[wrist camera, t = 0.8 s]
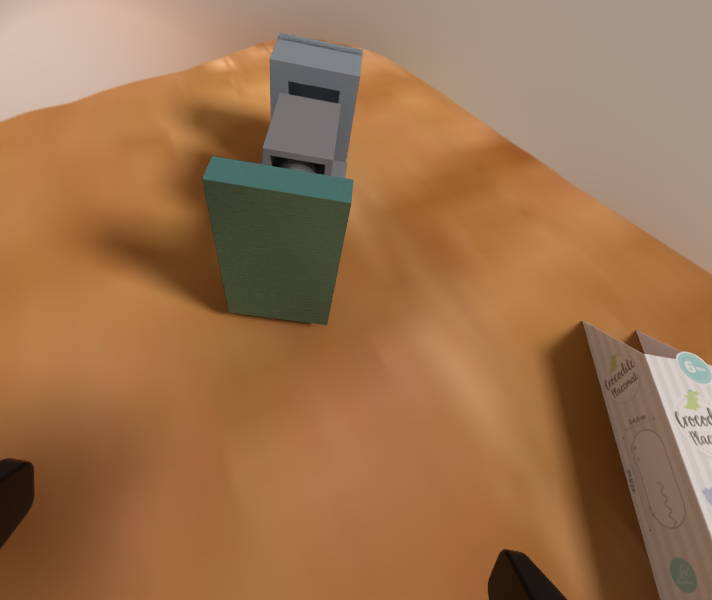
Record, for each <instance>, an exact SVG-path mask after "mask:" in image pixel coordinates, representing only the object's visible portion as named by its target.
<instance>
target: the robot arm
mask: <svg viewBox="0 0 712 600" xmlns="http://www.w3.org/2000/svg"><path fill="white" fill-rule="evenodd" d="M33 501H34V466H33V464H32V463H31V462H29V461H24V460H18V459H13V458H7V459H3V460H0V549H1V548H2V546H3V545H4V544H5V542H6V541H7V540H8V538H9V537H10V536H11V534H12V533H13V532H14V530H15V529H16V528H17V526H18V525H19V524H20V522H21V521H22V520H23V518H24V517H25V516H26V514H27V513H28V511H29V510H30V508H31V506H32V504H33ZM488 596H489V600H567V599H566V598H565V597H564V595H563V594H562V593H561V592H560V591H559V590H558V589H557V588H556V587H555V586H554V585H553V583H552V582H551V581H550V580H549V579H548V578H547V577H546V576H545V575H544V574H543V573H542V572H541V570H540V569H539V568H538V567H537V566H536V565H535V564H534V563H533V562H532V561H531V560H530V559H529V557H528V556H526V555H525V554H524V553H522V552H518V551H513V550H508V549H503V550H502V551H501V552H500V553H499V555H498V558H497V560H496V563H495V565H494V568H493V570H492V572H491V575H490V577H489V581H488Z"/></svg>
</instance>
